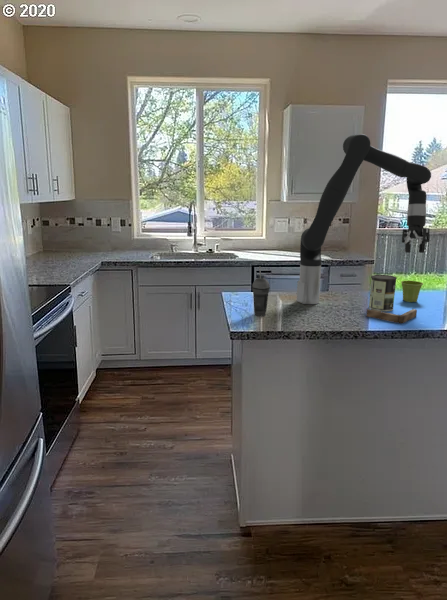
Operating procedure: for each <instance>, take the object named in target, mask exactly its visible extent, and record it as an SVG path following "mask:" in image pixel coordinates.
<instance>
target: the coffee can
mask: <svg viewBox="0 0 447 600" xmlns="http://www.w3.org/2000/svg"><path fill="white" fill-rule="evenodd" d="M370 278H371V279H370V292H369V301H368V309H372V310H377V311H381V312H393V310H394V304H395V293H396V287H397V286H396V285H397V284H396V283H397V280H398V279H397V278H398V277H396V276H394V275H390V274H373V275H371V277H370Z"/></svg>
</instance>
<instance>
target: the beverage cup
mask: <svg viewBox="0 0 447 600" xmlns="http://www.w3.org/2000/svg"><path fill="white" fill-rule="evenodd" d="M258 268H259V277H257V278H255V279H254V281H253V283H252V285H251V288H252V289H251V290H252V295H253V310H254V311H253V312H254V316H255V317H265V316H266V314H267V309H268V308H267V307H268V300H269V293H270V282H269V281H268V280H267V279H266V277H262V272H261V271H262V270H261V266H259V267H258Z"/></svg>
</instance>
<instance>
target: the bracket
mask: <svg viewBox="0 0 447 600" xmlns="http://www.w3.org/2000/svg"><path fill="white" fill-rule="evenodd" d="M417 313H418V310H417V309H415V308H413V309H410V310H407V311H406V312H404V313H401V314H397V313H390V312H387V311H377V310H372V309H370V308H367V309H366V317H368V318H373V319H377V320H383V321H387V322H392V323H396V324H400V325H401V324H404V323H407V322H409V320H412V319H414V318H415V317H417Z"/></svg>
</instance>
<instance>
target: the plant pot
mask: <svg viewBox="0 0 447 600" xmlns="http://www.w3.org/2000/svg"><path fill="white" fill-rule="evenodd" d="M400 284H401V286H402V288H401V289H402V301H404V302H406V303H408V302H409V303H413V302H414V303H417V302H418V299H419V295H420V291H421V289H422V287H423V285H424V282H421V281H416V280H402V281H401V282H400Z"/></svg>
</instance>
